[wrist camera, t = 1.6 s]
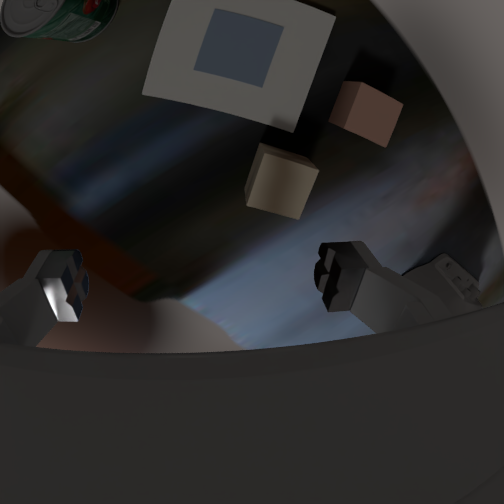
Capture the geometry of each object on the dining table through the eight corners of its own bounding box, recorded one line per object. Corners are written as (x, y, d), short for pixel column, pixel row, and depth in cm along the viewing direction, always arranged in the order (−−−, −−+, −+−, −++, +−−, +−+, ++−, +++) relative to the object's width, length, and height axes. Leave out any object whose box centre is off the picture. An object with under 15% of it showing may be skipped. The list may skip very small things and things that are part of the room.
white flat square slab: (332, 18, 23) (336, 16, 22) (291, 131, 30) (293, 133, 29) (184, -22, 20) (182, -26, 18) (145, 93, 26) (141, 94, 25)
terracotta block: (381, 99, 28) (403, 104, 24) (366, 137, 30) (385, 147, 26) (343, 81, 27) (361, 82, 23) (328, 121, 29) (343, 128, 25)
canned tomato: (47, 25, 20) (-13, 19, 10) (89, -27, 17) (41, -54, 8) (86, 54, 23) (28, 51, 14) (133, -1, 20) (91, -30, 11)
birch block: (306, 157, 32) (319, 170, 27) (290, 200, 34) (298, 219, 30) (259, 142, 30) (264, 152, 26) (244, 187, 33) (246, 205, 29)
